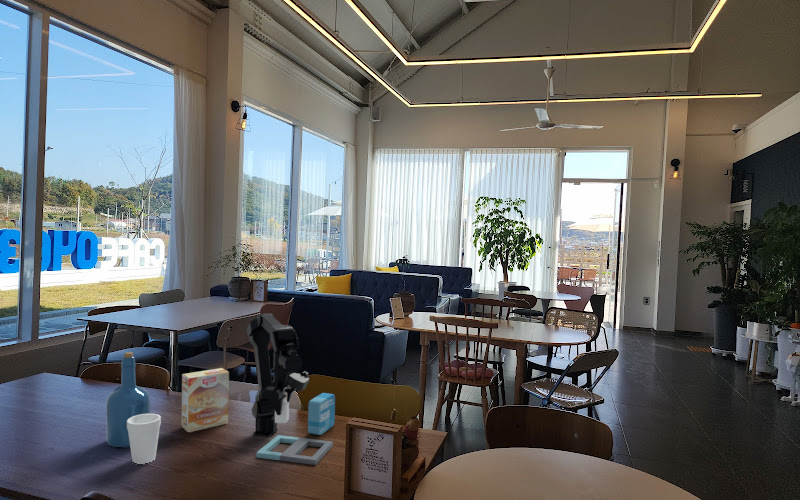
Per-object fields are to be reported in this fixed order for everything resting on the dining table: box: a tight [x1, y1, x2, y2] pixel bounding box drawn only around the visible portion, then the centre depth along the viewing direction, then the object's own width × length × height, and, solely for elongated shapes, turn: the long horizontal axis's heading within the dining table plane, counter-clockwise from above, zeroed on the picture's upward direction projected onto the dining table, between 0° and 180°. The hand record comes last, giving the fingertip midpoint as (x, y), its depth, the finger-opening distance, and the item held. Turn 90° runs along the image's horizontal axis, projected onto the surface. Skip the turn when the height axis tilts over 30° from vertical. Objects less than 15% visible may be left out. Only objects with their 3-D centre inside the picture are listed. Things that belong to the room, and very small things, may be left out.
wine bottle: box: [105, 351, 151, 449], centre depth 181 cm, size 14×13×30 cm
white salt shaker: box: [275, 392, 290, 424], centre depth 177 cm, size 4×4×10 cm
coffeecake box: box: [181, 367, 230, 433], centre depth 197 cm, size 15×7×20 cm, turn 131°
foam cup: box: [127, 413, 162, 465], centre depth 167 cm, size 10×9×13 cm
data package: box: [307, 392, 336, 436], centre depth 195 cm, size 12×4×12 cm, turn 160°
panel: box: [255, 434, 334, 466], centre depth 176 cm, size 20×15×2 cm
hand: (281, 412), depth 177 cm, fingers closed on white salt shaker, 4 cm apart
